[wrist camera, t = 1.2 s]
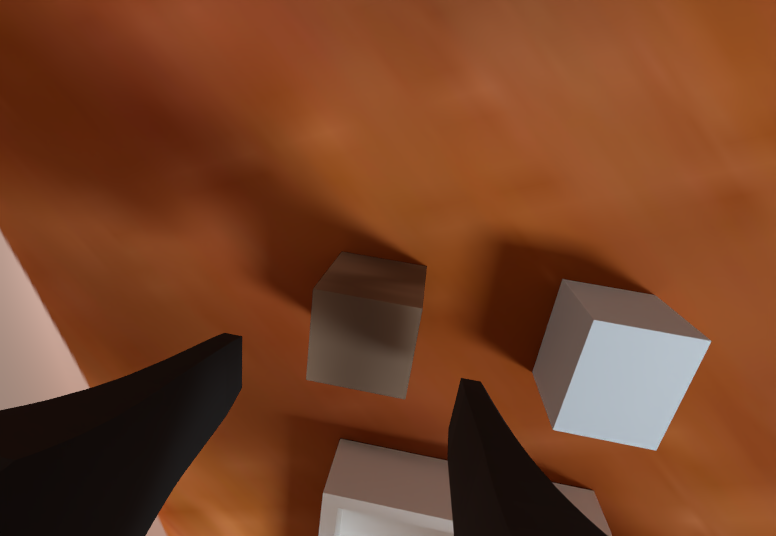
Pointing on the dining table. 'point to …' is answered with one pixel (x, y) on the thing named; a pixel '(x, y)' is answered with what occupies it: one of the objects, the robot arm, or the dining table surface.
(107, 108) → the dining table surface
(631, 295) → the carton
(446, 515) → the tote
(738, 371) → the dining table surface
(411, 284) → the walnut block
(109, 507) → the robot arm
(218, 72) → the dining table surface
